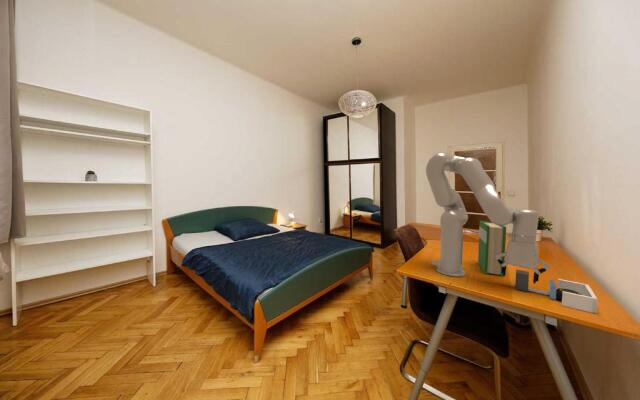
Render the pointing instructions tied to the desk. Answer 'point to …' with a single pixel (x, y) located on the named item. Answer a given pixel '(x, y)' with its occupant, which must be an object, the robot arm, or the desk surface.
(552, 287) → the block dumbbell
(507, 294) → the desk surface
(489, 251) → the hardback book
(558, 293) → the tape measure
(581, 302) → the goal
